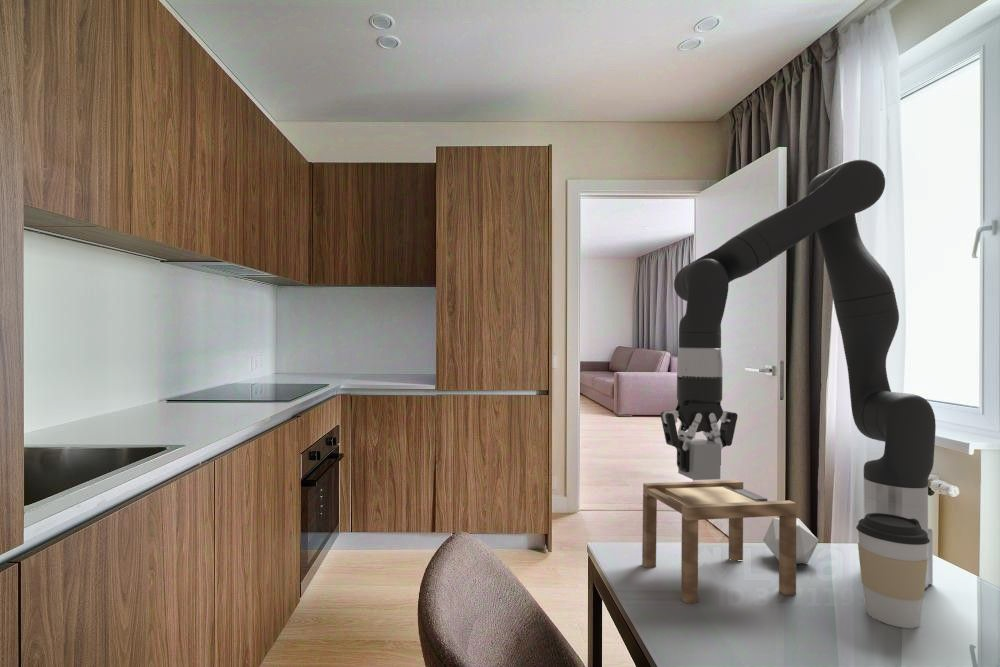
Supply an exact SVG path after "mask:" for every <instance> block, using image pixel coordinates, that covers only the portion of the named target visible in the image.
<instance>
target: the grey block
mask: <svg viewBox="0 0 1000 667" xmlns="http://www.w3.org/2000/svg"><path fill="white" fill-rule="evenodd" d="M688 451H690V455H689V472H683V471H681V470H680V469H679V467H678V466H677V468H678V469H677V470H678V472H677V473H678V474H679V475H681V476H684V477H686V478H689V479H690V480H693V481H703V480H704V481H712V480H721V466H720V457H721V458H722V449H721V444H719V443H714V442H712V441H708V440H707V439H705V438H693V439H692V440H691V443H690V446H689V449H688Z"/></svg>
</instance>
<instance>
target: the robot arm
mask: <svg viewBox="0 0 1000 667" xmlns="http://www.w3.org/2000/svg"><path fill="white" fill-rule="evenodd" d="M885 188H886V177H885V174H884V172H883V170H882V168H881V167H880V166H879V165H878V164H877V163H875V162H873V161H872V160H868V159H861V158H860V159H859V158H857V159H852V160H848V161H844V162H841V163H840V164H837V165H835V166H833V167H830V168H829V169H827V170H825V171H823V172H821V173H819V174H817V175H816V176H814V178H813V179H812V180H811V181H810V183H809V184H808V187H807V190H806V195H805V196H804V197H803V198H801V199H799V200H797V201H796V202H794V203H792V204H791V205H788V206H787V207H785V208H783V209H781V210H779V211H777V212H775V213H773V214H771V215H770V216H767V217H765V218H763V219H762V220H759V221H757V222H756V223H754V224H752V225H751V226H750V227H747V228H746V229H744V230H743V231H741V232H739V233H738V234H736V235H735V236H733V237H731V238H730V239H729V240H727V241H726V242H724V243H723V244H722V245H720V246H718V247H717V248H716V249H714V250H712V251H710V252H708V253H707V254H705V255H703V256H701V257H699V258H697V259H695V260H694V261H692V262H691V263H687V264H686V265H685V266H683V267H682V268H681V269H680V270H679V271H678V272H677V274H676V275H675V278H674V282H673V288H674V291H675V293H676V294H677V296H678V297H679V298H680V299H681V300H684V301H686V310H685V314H684V315H683V317H682V318H680V321H679V325H678V353H677V360H676V399H677V400H676V401H677V405H676V407H675V410H671V411H662V412H660V420H661V425H662V429H663V434H664V439H665V443H666V445H669V446H672V447H674V448H675V449H676V465H677V468H678V467H679V469H680V470H681V471H683V472H689V455H690V451H688V449H689V446H690V443H691V440H692V439H695V436H696V433H700V432H702V433H703V436H705V437H706V439H705V440H708V441H712V442H714V443H719V444H721V450H723V448H725V447H730V446H732V443H733V440H734V435H735V431H736V426H737V420H738V414H737V412H733V411H727V410H724V409H723V407H722V405H721V404H722V401H723V369H724V368H723V356H722V321H723V317H724V314H725V309H726V304H727V299H728V294H729V283H731V282H733V281H734V280H737V279H739V278H742V277H744V276H747V275H749V274H751V273H753V272H754V271H756V270H758V269H759V268H761V267H762V266H764V265H765V264H767V263H769V262H770V261H772V260H773V259H775V258H777V257H778V256H779V255H781V254H783V253H784V252H786V251H787V250H789V249H790V248H792V247H794V246H795V245H796V244H798V243H800V242H802V240H804V239H806V238H807V237H809V236H811V235H813V234H814V233H816V235H817V238H818V241H819V243H820V246H821V251H822V255H823V258H824V262H825V268H826V271H827V275H828V280H829V283H830V289H831V294H832V301H833V305H834V310H835V314H836V319H837V323H838V327H839V330H840V334H841V340H842V347H843V352H844V357H845V361H846V367H847V375H848V384H849V396H850V404H851V405H850V407H851V413H852V414H851V415H852V418H853V421H854V425H855V427H856V428H857V430H858V431H859V433H861V434H862V435H863V436H864V437H867V438H869V439H872V440H875V441H879V442H884V451H883V455H882V456H881V457H880V458H877V459H873V460H868V461H866V462H864V464H863V518H864V517H865V516H866V515H867V514H869V513H884V514H891V515H896V516H901V517H905V518H908V519H912V518H914V519H917V520H918V521H919V523H920V526H921V528H922V529H923V530H924V531H926V532H927V534H928V538H929V540H930V542H929V543H928V548H927V557H928V563H927V572H926V581H925V589H927V588H928V587H929V585H933V583H934V582H933V581H934V578H933V574H934V573H933V569H934V568H933V564H934V563H933V561H934V560H933V552H934V551H933V550H934V549H933V546H934V545H933V541H934V540H933V533H934V532H933V530H932V528H930V527H929V477H930V475H931V472H932V470H933V467H934V462H935V460H934V459H935V445H936V444H935V443H936V431H937V430H936V424H937V423H936V416H935V413H934V409H933V406H932V405H931V404H930V402H929V401H928V400H927V399H925V398H924V397H923V396H920V395H918V394H915V393H906V392H904V393H903V392H894V391H892V390H891V387H890V383H889V379H888V373H887V358H888V353H889V350H890V348H891V346H892V342H893V340H894V338H895V336H896V333H897V330H898V327H899V321H900V314H899V306H898V302H897V299H896V298H897V297H896V292H895V288H894V285H893V283H892V280H891V278H890V276H889V275H888V273H887V272H886V270H885V269H884V268H883V266H882V265H881V264H880V263H879V262H878V260H877V259H875V257H874V256H873V255H872V253H871V252H869V250H868V249H867V248H866V245H865V244H864V243H863V240H862V238H861V236H860V232H859V228H858V223H857V217H856V214H858V213H860V212H863V211H865V210H867V209H869V208H870V207H872V206H873V205H875V204H876V203H877V202H878V201H879V200H880V198H881V197H882V196H883V194H884V191H885ZM678 420H679V421H680V424H679V428H677V425H676V424H677V422H678ZM719 421H720V422H721V423H720V425H719V424H718V423H719ZM721 466H722V456H721V457H720V467H721Z"/></svg>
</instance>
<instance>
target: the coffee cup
mask: <svg viewBox="0 0 1000 667" xmlns="http://www.w3.org/2000/svg"><path fill="white" fill-rule="evenodd" d="M855 529H856V530H857V534H858V543H857V550H858V556H859V557H858V560H859V568H860V569H859V570H860V578H861V583H862V588H863V591H862V592H863V599H864V611H865V612H866V614H867V615H868V616H870V617H871V616H872V618H873V617H874V618H873V619H875V618H876V619H877V621H879V620H880V621H879V622H881V621H882V622H881V623H884V624H886V625H889V626H893V627H897V628H902V629H916V628H918V627H920V626H921V620H922V610H923V600H924V598H925V589H926V588H925V581H926V572H927V563H928V557H927V548H928V543H929V542H930V540H929V538H928V534H927V532H926V531H924V530H923V529H922V528H921V526H920V523H919V521H918V520H917V519H914V518H912V519H908V518H905V517H901V516H896V515H891V514H884V513H869V514H867V515H866V516H865V517H864V516H863V518H861V519H860V520H858V524H857V525H856V526H855ZM876 619H875V620H876Z"/></svg>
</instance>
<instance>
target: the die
mask: <svg viewBox="0 0 1000 667" xmlns="http://www.w3.org/2000/svg"><path fill="white" fill-rule="evenodd" d="M762 541H763V544H765V546H767V548H768V549H769V551H771V553H772V554H773V555H774V556H775V558H776V559H777V560H778V561H779V517H772V520H771V522H770V524H769V526H768V528H767V530H766V532H765V535H764V536H763V539H762ZM818 543H819V539H818V538H817V536H815V535H814V534H813V533H812V530H810V529H809V528H808V527H807V526H806V525H805V524H804V522H803V521H801V519H800V518H797V517H796V563H808V564H809V562H810V560H811V558H812V556H813V554H814V552H815V550H816V548H817V546H818Z"/></svg>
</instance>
